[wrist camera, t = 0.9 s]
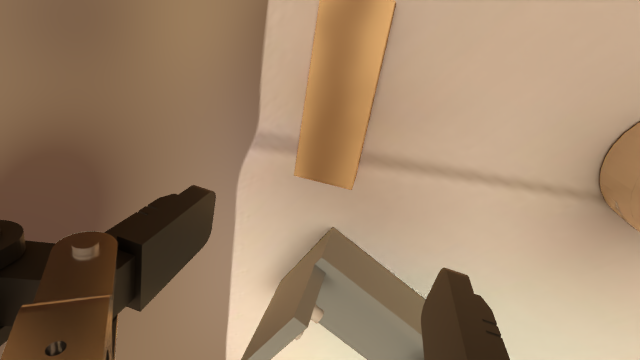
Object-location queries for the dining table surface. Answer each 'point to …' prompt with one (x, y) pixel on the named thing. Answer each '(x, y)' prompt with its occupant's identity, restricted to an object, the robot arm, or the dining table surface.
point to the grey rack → (342, 305)
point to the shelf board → (342, 87)
